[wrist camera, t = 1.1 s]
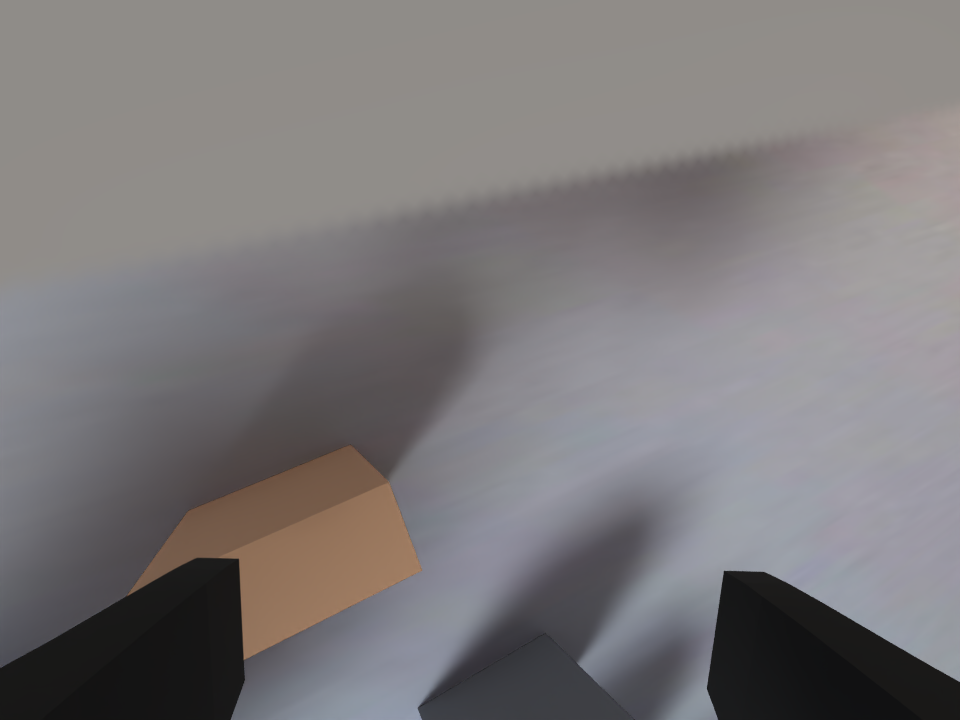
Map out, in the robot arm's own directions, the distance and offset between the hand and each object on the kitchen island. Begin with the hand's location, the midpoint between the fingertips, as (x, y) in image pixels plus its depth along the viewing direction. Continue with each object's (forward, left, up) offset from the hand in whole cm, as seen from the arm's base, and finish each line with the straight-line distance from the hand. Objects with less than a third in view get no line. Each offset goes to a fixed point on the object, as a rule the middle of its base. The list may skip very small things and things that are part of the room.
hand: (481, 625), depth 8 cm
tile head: (-3, +1, -11) cm, 11 cm away
